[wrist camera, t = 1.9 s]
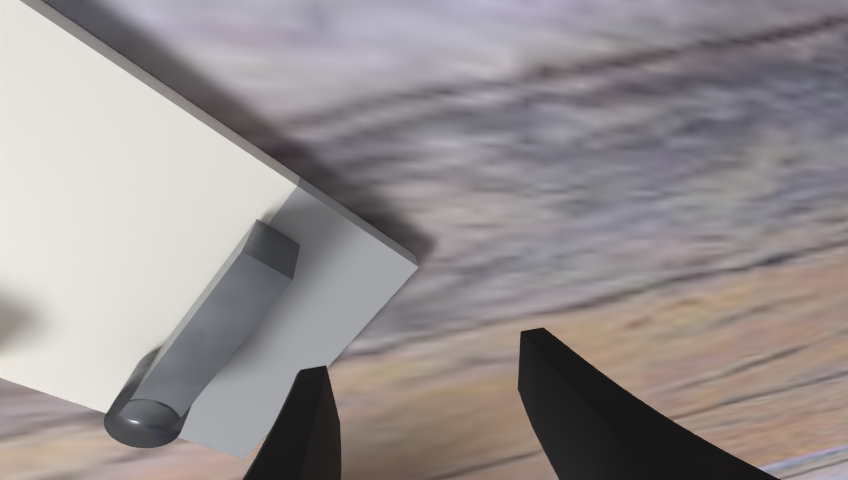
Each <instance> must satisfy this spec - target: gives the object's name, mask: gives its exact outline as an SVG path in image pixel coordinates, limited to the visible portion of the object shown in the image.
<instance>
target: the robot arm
mask: <svg viewBox="0 0 848 480" xmlns="http://www.w3.org/2000/svg"><path fill="white" fill-rule="evenodd" d="M518 391H519V393H520V396H521V399H522V401H523V404H524V407H525V410H526V412H527V415H528V417H529V420H530V422H531V425H532V427H533V429H534V431H535V433H536V435H537V437H538V439H539V441H540V443H541V445H542V447H543V449H544V451H545V453H546V455H547V457H548V459H549V461H550V463H551V465H552V467H553V468H554V470H555V472H556V474H557V476H558V478H559V480H780V479H778V478H776V477H774V476H772V475H770V474H768V473H766V472H764V471H762V470H760V469H758V468H756V467H754V466H752V465H750V464H748V463H746V462H744V461H742V460H740V459H738V458H737V457H735V456H733V455H731V454H729V453H727V452H725V451H723V450H722V449H720V448H718V447H716V446H714V445H712V444H711V443H709V442H707V441H705V440H704V439H702V438H700V437H699V436H697V435H695V434H694V433H692V432H690V431H688V430H687V429H685V428H683V427H682V426H680V425H678V424H676V423H675V422H673V421H672V420H670V419H668V418H667V417H665V416H664V415H662V414H660V413H659V412H657V411H656V410H654V409H653V408H651V407H650V406H648V405H647V404H645V403H644V402H642V401H641V400H639V399H638V398H636V397H635V396H633V395H632V394H630V393H629V392H628V391H626V390H625V389H623V388H622V387H620V386H619V385H618V384H616V383H615V382H614V381H612V380H611V379H609V378H608V377H607V376H605V375H604V374H603V373H601V372H600V371H599V370H597V369H596V368H595V367H593V366H592V365H591V364H589V363H588V362H587V361H585V360H584V359H583V358H582V357H580V356H579V355H578V354H576V353H575V352H574V351H573V350H571V349H570V348H569V347H568V346H566V345H565V344H564V343H562V342H561V341H560V340H559V339H557V338H556V337H555V336H554V335H552V334H551V333H550V332H548V331H547V330H546V329H545V328H538V329H532V330H526V331H521V337H520V357H519V378H518ZM243 480H341V437H340V421H339V417H338V413H337V408H336V404H335V400H334V396H333V392H332V388H331V383H330V379H329V375H328V371H327V367H326V365H324V366H319V367H313V368H307V369H301V370H300V371H299V372H298V373H297V375H296V377H295V380H294V382H293V385H292V387H291V389H290V391H289V394H288V396H287V398H286V400H285V402H284V404H283V406H282V408H281V410H280V412H279V414H278V417H277V419H276V421H275V423H274V424H273V426H272V428H271V430H270V432H269V434H268V436H267V438H266V440H265V441H264V443H263V445H262V447H261V449H260V451H259V453H258V454H257V456H256V458H255V460H254V461H253V463H252V465H251V467H250V468H249V470H248V472H247V473H246V475H245V477H244V478H243Z"/></svg>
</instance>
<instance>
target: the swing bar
mask: <svg viewBox="0 0 848 480" xmlns="http://www.w3.org/2000/svg"><path fill="white" fill-rule="evenodd" d="M299 248H300V244H298V243H296V242H295V241H293V240H291V239H290V238H288V237H286V236H285V235H283V234H281V233H280V232H278V231H276V230H275V229H273V228H271V227H270V226H268V225H266V224H265V223H263V222H262V221H260V220H258V219H256V221H255V222H254V223H253V225H252V226H251V227H250V229H249V230H248V231H247V233H246V234H245V236H244V237H243V238H242V240H241V241H240V242H239V244H238V245H237V246H236V248H235V249H234V250H233V252H232V253H231V254H230V256H229V257H228V258H227V260H226V261H225V262H224V264H223V265H222V266H221V268H220V269H219V270H218V272H217V273H216V274H215V276H214V277H213V278H212V280H211V281H210V283H209V284H208V285H207V287H206V288H205V289H204V291H203V292H202V293H201V295H200V296H199V297H198V299H197V300H196V301H195V303H194V304H193V305H192V307H191V308H190V309H189V311H188V312H187V313H186V315H185V316H184V317H183V319H182V320H181V321H180V323H179V324H178V325H177V327H176V328H175V330H174V331H173V332H172V334H171V335H170V336H169V338H168V339H167V340H166V342H165V343H164V344H163V346H162V347H161V348H160V350H159V351H156V352H152V353H150V354H147V355H146V356H144V357H143V358H142V359H141V360H140V361H139V362H138V364H137V365H136V367H135V369H134V370H133V372H132V373H131V375H130V377H129V378H128V380H127V381H126V383H125V385H124V386H123V388H122V389H121V391H120V393H119V394H118V396H117V397H116V399H115V401H114V402H113V404H112V405H111V407H110V409H109V410H108V412H107V413H106V415H105V418H104V426H105V429H106V431H107V432H108V433H109V435H110V436H111V437H113V438H114V439H115V440H117V441H118V442H120V443H123V444H125V445H128V446H132V447H137V448H154V447H160V446H163V445H166V444H168V443H170V442H172V441H173V440H175V439H176V438H177V437H178V436H179V434H180V433H181V431H182V428H183V426H184V423H185V421H186V418H187V416H188V414H189V411H190V409H191V406H192V404H193V402H194V401H195V400H196V399H197V397H198V396H199V395H200V394H201V393H202V391H203V390H204V389H205V388H206V386H207V385H208V384H209V383H210V381H211V380H212V379H213V378H214V377H215V375H216V374H217V373H218V372H219V370H220V369H221V368H222V367H223V365H224V364H225V363H226V362H227V361H228V359H229V358H230V357H231V356H232V354H233V353H234V352H235V351H236V349H237V348H238V347H239V346H240V345H241V343H242V342H243V341H244V340H245V338H246V337H247V336H248V335H249V333H250V332H251V331H252V330H253V329H254V327H255V326H256V325H257V324H258V322H259V321H260V320H261V319H262V317H263V316H264V315H265V314H266V312H267V311H268V310H269V309H270V308H271V306H272V305H273V304H274V303H275V301H276V300H277V299H278V298H279V296H280V295H281V294H282V293H283V292H284V290H285V289H286V288H287V287H288V285H289V284H290V283H291V282H292V280H293V277H294V272H295V268H296V263H297V258H298V253H299Z"/></svg>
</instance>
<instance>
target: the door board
mask: <svg viewBox="0 0 848 480" xmlns="http://www.w3.org/2000/svg"><path fill="white" fill-rule="evenodd" d="M256 219H258V220H260V221H262V222H263V223H265V224H266V225H268V226H270V227H271V228H273V229H275V230H276V231H278V232H280V233H281V234H283V235H285V236H286V237H288V238H290V239H291V240H293V241H295V242H296V243H298V244H300V248H299V253H298V258H297V263H296V268H295V272H294V277H293V280H292V282H291V283H290V284H289V285H288V287H287V288H286V289H285V290H284V292H283V293H282V294H281V295H280V296H279V298H278V299H277V300H276V301H275V303H274V304H273V305H272V306H271V308H270V309H269V310H268V311H267V312H266V314H265V315H264V316H263V317H262V319H261V320H260V321H259V322H258V324H257V325H256V326H255V327H254V329H253V330H252V331H251V332H250V333H249V335H248V336H247V337H246V338H245V340H244V341H243V342H242V343H241V345H240V346H239V347H238V348H237V349H236V351H235V352H234V353H233V354H232V356H231V357H230V358H229V359H228V361H227V362H226V363H225V364H224V365H223V367H222V368H221V369H220V370H219V372H218V373H217V374H216V375H215V377H214V378H213V379H212V380H211V381H210V383H209V384H208V385H207V386H206V388H205V389H204V390H203V391H202V393H201V394H200V395H199V396H198V397H197V399H196V400H195V401H194V402H193V404H192V406H191V409H190V411H189V414H188V416H187V418H186V421H185V423H184V426H183V428H182V431H181V433H180V434H179V436H178V438H181V439H184V440H187V441H190V442H193V443H196V444H199V445H202V446H205V447H208V448H211V449H214V450H217V451H220V452H223V453H226V454H229V455H232V456H235V457H238V458H241V459H245V458H246V457H247V456H248V455H249V454H250V453H251V451H252V450H253V449H254V448H255V447H256V446H257V445H258V444H259V443H260V442H261V440H262V439H263V438H264V437H265V436H266V435H267V434H268V433H269V432H270V430H271V428H272V426H273V424H274V423H275V421H276V419H277V417H278V414H279V412H280V410H281V408H282V406H283V404H284V402H285V400H286V398H287V396H288V394H289V391H290V389H291V387H292V385H293V382H294V380H295V377H296V375H297V373H298V372H299V371H300V370H301V369H307V368H313V367H319V366H324V365H326V367H327V368H328V367H329V365H330V364H331V363H332V362H333V361H334V360H335V359H336V358H337V357H338V356H339V354H340V353H341V352H342V351H343V350H344V349H345V348H346V347H347V346H348V345H349V343H350V342H351V341H352V340H353V339H354V338H355V337H356V336H357V335H358V333H359V332H360V331H361V330H362V329H363V328H364V327H365V326H366V325H367V324H368V322H369V321H370V320H371V319H372V318H373V317H374V316H375V315H376V314H377V313H378V311H379V310H380V309H381V308H382V307H383V306H384V305H385V304H386V303H387V302H388V300H389V299H390V298H391V297H392V296H393V295H394V294H395V293H396V292H397V290H398V289H399V288H400V287H401V286H402V285H403V284H404V283H405V282H406V281H407V279H408V278H409V277H410V276H411V275H412V274H413V273H414V272H415V271H416V270H417V268H418V263H417V260H416V257H415V255H414V254H413V253H411V252H410V251H408V250H407V249H405V248H404V247H402V246H401V245H400V244H398V243H397V242H395V241H394V240H392V239H391V238H389V237H388V236H386V235H385V234H383V233H382V232H380V231H379V230H378V229H376V228H375V227H373V226H372V225H370V224H369V223H367V222H366V221H364V220H363V219H361V218H360V217H358V216H357V215H356V214H354V213H353V212H351V211H350V210H348V209H347V208H345V207H344V206H342V205H341V204H339V203H338V202H336V201H335V200H333V199H332V198H331V197H329V196H328V195H326V194H325V193H323V192H322V191H320V190H319V189H317V188H316V187H314V186H313V185H311V184H310V183H309V182H307V181H306V180H304V179H303V178H301V177H300V176H298V175H297V174H295V173H294V172H292V171H291V170H289V169H288V168H287V167H285V166H284V165H282V164H281V163H279V162H278V161H276V160H275V159H273V158H272V157H270V156H269V155H267V154H266V153H265V152H263V151H262V150H260V149H259V148H257V147H256V146H254V145H253V144H251V143H250V142H248V141H247V140H245V139H244V138H242V137H241V136H240V135H238V134H237V133H235V132H234V131H232V130H231V129H229V128H228V127H226V126H225V125H223V124H222V123H220V122H219V121H218V120H216V119H215V118H213V117H212V116H210V115H209V114H207V113H206V112H204V111H203V110H201V109H200V108H198V107H197V106H196V105H194V104H193V103H191V102H190V101H188V100H187V99H185V98H184V97H182V96H181V95H179V94H178V93H176V92H175V91H174V90H172V89H171V88H169V87H168V86H166V85H165V84H163V83H162V82H160V81H159V80H157V79H156V78H154V77H153V76H151V75H150V74H149V73H147V72H146V71H144V70H143V69H141V68H140V67H138V66H137V65H135V64H134V63H132V62H131V61H129V60H128V59H127V58H125V57H124V56H122V55H121V54H119V53H118V52H116V51H115V50H113V49H112V48H110V47H109V46H107V45H106V44H105V43H103V42H102V41H100V40H99V39H97V38H96V37H94V36H93V35H91V34H90V33H88V32H87V31H85V30H84V29H83V28H81V27H80V26H78V25H77V24H75V23H74V22H72V21H71V20H69V19H68V18H66V17H65V16H63V15H62V14H60V13H59V12H58V11H56V10H55V9H53V8H52V7H50V6H49V5H47V4H46V3H44V2H43V1H41V0H0V378H3V379H6V380H9V381H12V382H14V383H17V384H20V385H23V386H26V387H29V388H32V389H35V390H38V391H41V392H44V393H47V394H50V395H53V396H56V397H59V398H62V399H65V400H68V401H71V402H74V403H77V404H80V405H83V406H86V407H89V408H92V409H95V410H98V411H101V412H104V413H107V412H108V410H109V409H110V407H111V405H112V404H113V402H114V401H115V399H116V397H117V396H118V394H119V393H120V391H121V389H122V388H123V386H124V385H125V383H126V381H127V380H128V378H129V377H130V375H131V373H132V372H133V370H134V369H135V367H136V365H137V364H138V362H139V361H140V360H141V359H142V358H143V357H144V356H146V355H147V354H150V353H152V352H156V351H159V350H160V348H161V347H162V346H163V344H164V343H165V342H166V340H167V339H168V338H169V336H170V335H171V334H172V332H173V331H174V330H175V328H176V327H177V325H178V324H179V323H180V321H181V320H182V319H183V317H184V316H185V315H186V313H187V312H188V311H189V309H190V308H191V307H192V305H193V304H194V303H195V301H196V300H197V299H198V297H199V296H200V295H201V293H202V292H203V291H204V289H205V288H206V287H207V285H208V284H209V283H210V281H211V280H212V278H213V277H214V276H215V274H216V273H217V272H218V270H219V269H220V268H221V266H222V265H223V264H224V262H225V261H226V260H227V258H228V257H229V256H230V254H231V253H232V252H233V250H234V249H235V248H236V246H237V245H238V244H239V242H240V241H241V240H242V238H243V237H244V236H245V234H246V233H247V231H248V230H249V229H250V227H251V226H252V225H253V223H254V222H255V221H256Z"/></svg>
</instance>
